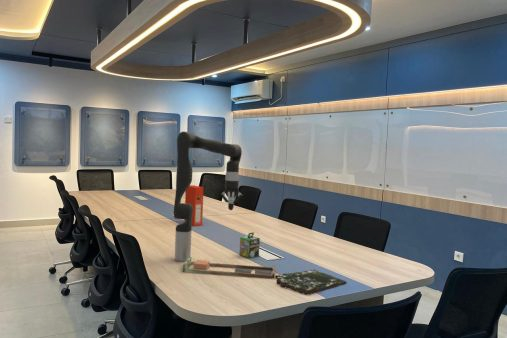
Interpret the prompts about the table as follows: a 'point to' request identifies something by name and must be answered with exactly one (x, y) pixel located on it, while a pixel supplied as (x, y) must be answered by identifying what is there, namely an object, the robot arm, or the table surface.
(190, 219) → the robot arm
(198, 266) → the block
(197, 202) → the file binder
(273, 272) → the lane
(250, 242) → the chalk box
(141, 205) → the table surface
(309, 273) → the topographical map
